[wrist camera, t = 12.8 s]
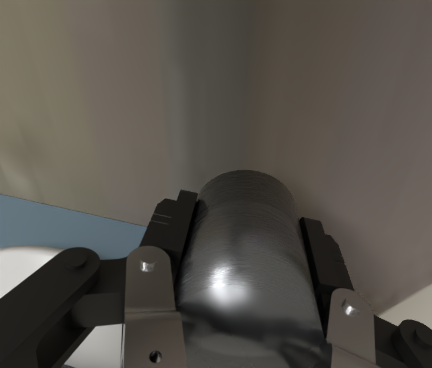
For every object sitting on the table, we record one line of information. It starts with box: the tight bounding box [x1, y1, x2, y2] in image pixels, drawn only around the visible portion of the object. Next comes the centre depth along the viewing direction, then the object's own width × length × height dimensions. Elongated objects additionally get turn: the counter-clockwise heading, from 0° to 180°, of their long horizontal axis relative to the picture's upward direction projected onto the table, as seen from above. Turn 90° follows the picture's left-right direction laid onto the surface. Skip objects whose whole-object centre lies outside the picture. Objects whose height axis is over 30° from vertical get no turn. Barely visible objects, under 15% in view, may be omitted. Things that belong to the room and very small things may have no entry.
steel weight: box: [173, 170, 324, 368], centre depth 11 cm, size 4×4×6 cm
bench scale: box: [0, 194, 147, 368], centre depth 19 cm, size 16×14×8 cm
